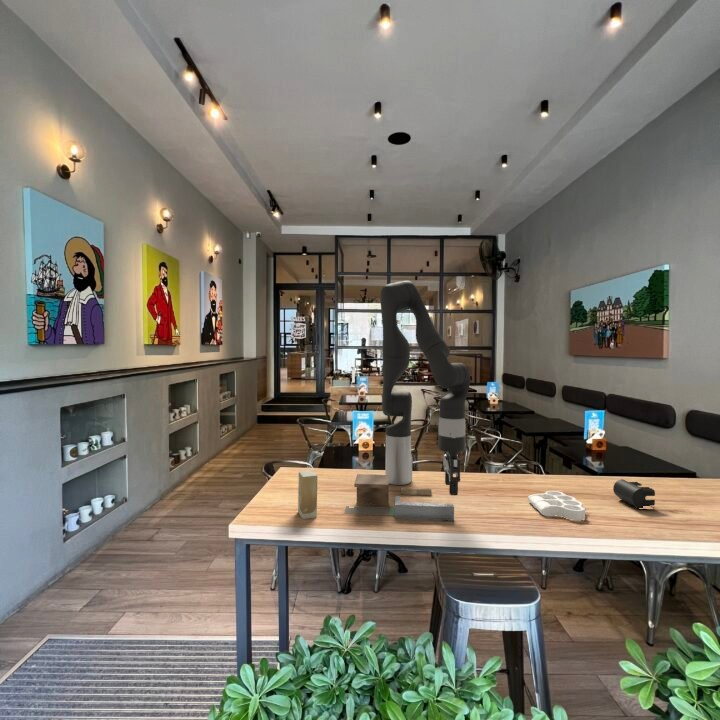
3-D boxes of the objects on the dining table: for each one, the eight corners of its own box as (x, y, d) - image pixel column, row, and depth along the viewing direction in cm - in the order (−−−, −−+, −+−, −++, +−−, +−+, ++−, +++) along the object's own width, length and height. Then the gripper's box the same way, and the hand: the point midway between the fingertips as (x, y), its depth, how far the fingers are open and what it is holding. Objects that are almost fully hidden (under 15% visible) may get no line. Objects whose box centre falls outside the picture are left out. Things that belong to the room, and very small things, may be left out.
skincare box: (297, 511, 126) (297, 470, 126) (311, 510, 128) (312, 469, 128) (302, 519, 120) (302, 476, 120) (317, 517, 122) (317, 475, 122)
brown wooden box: (354, 514, 125) (354, 483, 125) (356, 502, 135) (357, 474, 135) (388, 515, 124) (388, 484, 124) (388, 503, 134) (389, 475, 134)
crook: (395, 518, 121) (395, 504, 121) (395, 509, 129) (395, 495, 129) (454, 521, 120) (454, 507, 120) (450, 511, 128) (450, 498, 127)
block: (400, 515, 124) (400, 503, 124) (400, 509, 129) (400, 497, 129) (417, 515, 124) (417, 503, 124) (416, 509, 129) (416, 498, 129)
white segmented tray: (523, 500, 139) (569, 501, 139) (545, 521, 121) (598, 523, 121) (524, 490, 139) (569, 491, 139) (545, 509, 121) (598, 511, 121)
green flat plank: (344, 513, 125) (344, 513, 125) (346, 506, 131) (346, 506, 131) (430, 516, 123) (430, 516, 123) (428, 509, 129) (428, 509, 129)
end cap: (612, 499, 140) (612, 479, 140) (634, 499, 140) (634, 479, 140) (632, 510, 130) (632, 488, 130) (655, 510, 130) (656, 488, 130)
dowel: (401, 491, 142) (401, 486, 144) (401, 496, 143) (401, 490, 145) (431, 492, 141) (431, 486, 143) (431, 497, 142) (430, 491, 144)
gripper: (435, 428, 129) (435, 481, 129) (441, 438, 114) (441, 498, 115) (460, 428, 128) (460, 482, 129) (470, 438, 114) (469, 499, 115)
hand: (451, 489), depth 122 cm, fingers open, 8 cm apart
